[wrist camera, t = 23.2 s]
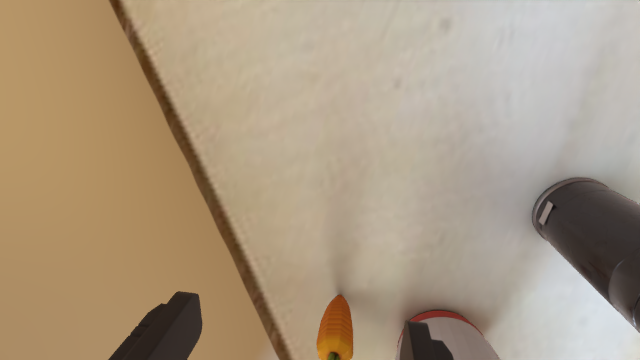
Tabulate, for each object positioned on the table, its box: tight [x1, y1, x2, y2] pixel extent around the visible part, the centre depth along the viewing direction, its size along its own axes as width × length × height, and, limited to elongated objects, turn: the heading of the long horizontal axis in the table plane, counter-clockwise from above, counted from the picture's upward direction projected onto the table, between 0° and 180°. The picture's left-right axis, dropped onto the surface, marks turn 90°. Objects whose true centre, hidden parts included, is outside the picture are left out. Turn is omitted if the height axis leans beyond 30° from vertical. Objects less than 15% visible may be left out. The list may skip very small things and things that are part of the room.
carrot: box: [317, 295, 353, 360], centre depth 44 cm, size 5×5×15 cm
